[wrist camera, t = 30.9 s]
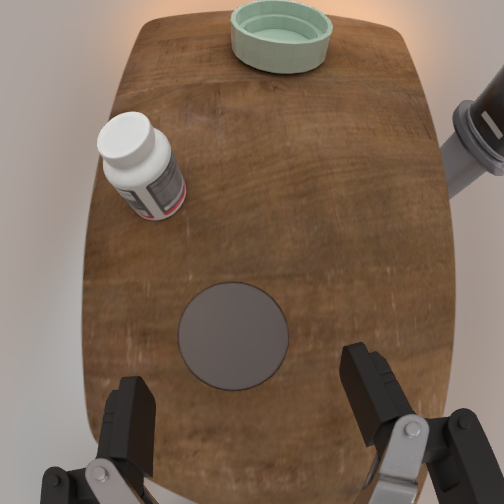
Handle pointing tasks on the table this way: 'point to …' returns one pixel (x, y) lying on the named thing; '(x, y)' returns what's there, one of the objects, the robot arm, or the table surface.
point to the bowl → (280, 35)
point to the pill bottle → (141, 166)
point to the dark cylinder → (233, 336)
